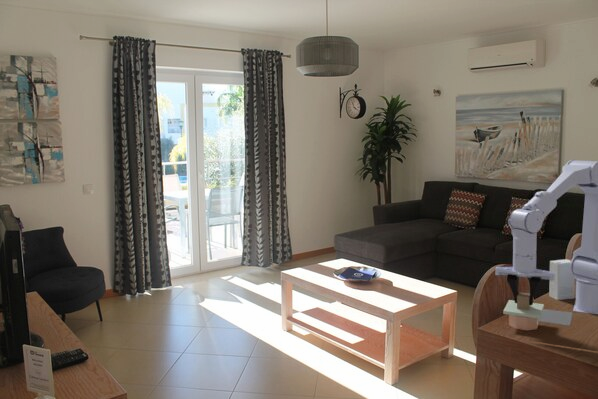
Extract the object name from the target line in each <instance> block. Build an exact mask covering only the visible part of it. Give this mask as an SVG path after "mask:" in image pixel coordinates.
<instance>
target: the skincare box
mask: <svg viewBox="0 0 598 399" xmlns="http://www.w3.org/2000/svg"><path fill="white" fill-rule="evenodd" d="M570 263H571V259H566V258H565V259H556V260H549V271H550V272H555V276H554V281H550V280H549V284H548V285H549V288H548V290H549V292H548V293H549V298H550V297H551V299H552V298H553V299H555V300H556V301H562V300H571V299H575V293H576V279H574V275H573V274H572V273H571V271H570Z"/></svg>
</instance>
